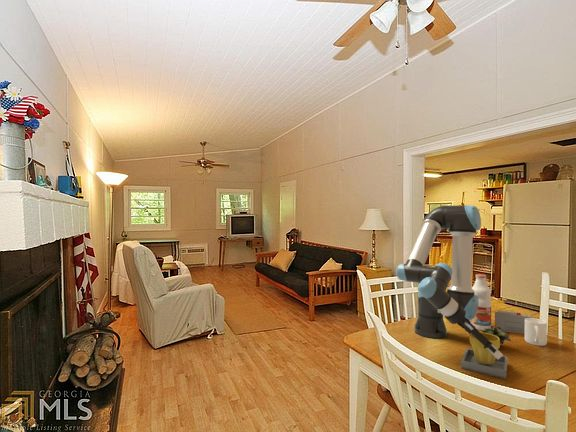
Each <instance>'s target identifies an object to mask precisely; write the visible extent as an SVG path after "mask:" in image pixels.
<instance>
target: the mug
mask: <svg viewBox="0 0 576 432" xmlns="http://www.w3.org/2000/svg"><path fill="white" fill-rule="evenodd" d="M547 336H548V322H547V321H546V320H543V319H539V318H535V317H533V318H525V334H524V341H525V342H526V343H528V344H530V345H533V346H537V347H538V346H539V347H543V346H546V345H547V343H548V341H547V339H548V337H547Z"/></svg>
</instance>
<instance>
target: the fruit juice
mask: <svg viewBox="0 0 576 432" xmlns="http://www.w3.org/2000/svg"><path fill="white" fill-rule="evenodd" d="M471 288H472V289H473V290H474V292H475V294H474V295H476V296H478V298H479V304H478V309H477V313H476V315H475V317H474V318H473V319H472V320H470V322H471V323H472V324H473V325H474V326H475V327H476V329H477V330H478V331H486V330H485V328H486V329H487V328H488V329H489V328H491V329H492V327H491V326H492V300H491V295H492V290H491V289H490V287H489V285H488V283H487V275H486V274H483V273H481V274H480V273H476V274H475V282H474V283H473V286H471Z"/></svg>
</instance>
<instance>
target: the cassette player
mask: <svg viewBox="0 0 576 432" xmlns="http://www.w3.org/2000/svg"><path fill="white" fill-rule="evenodd" d="M525 318H534V317H533V316H532V315H529V314H521V312H516V311H507V310H497V311H494V327H495V326H498V327H501V330H504V331H505V332H506V333H513V334H514V333H515V334H520V335H521V334H522V335H525Z"/></svg>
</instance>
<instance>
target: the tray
mask: <svg viewBox="0 0 576 432" xmlns="http://www.w3.org/2000/svg"><path fill="white" fill-rule="evenodd" d="M508 359H509V358H508V356H504V355H503V356H502V357H501V358H499V359H495V363H494V364H483V363H480V362H478V361H476V359H475V356H474V351H473V348H467V347H466V348H465V351H464V353H463V355H462V358H461V359H460V362H461V363H460V368H461V369H463V370H466V371H469V372H474V373H478V374H481V375H486V376H491V377H494V376H495V378H498V377H499V378H498V379H503V380H507V374H508V373H507V372H508V363H509V362H508V361H509V360H508Z"/></svg>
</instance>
